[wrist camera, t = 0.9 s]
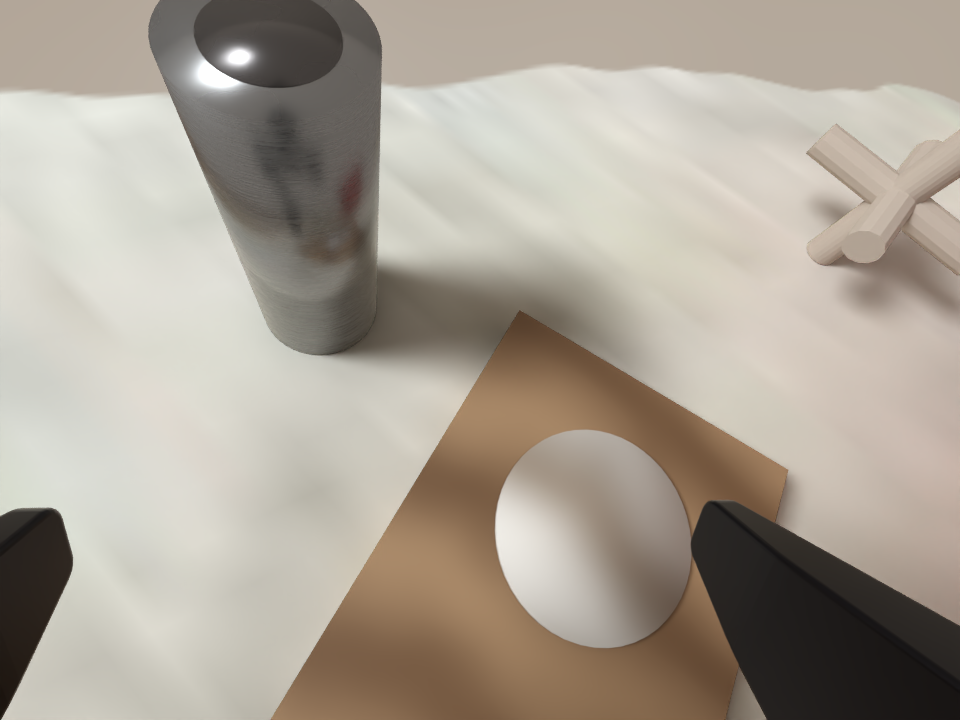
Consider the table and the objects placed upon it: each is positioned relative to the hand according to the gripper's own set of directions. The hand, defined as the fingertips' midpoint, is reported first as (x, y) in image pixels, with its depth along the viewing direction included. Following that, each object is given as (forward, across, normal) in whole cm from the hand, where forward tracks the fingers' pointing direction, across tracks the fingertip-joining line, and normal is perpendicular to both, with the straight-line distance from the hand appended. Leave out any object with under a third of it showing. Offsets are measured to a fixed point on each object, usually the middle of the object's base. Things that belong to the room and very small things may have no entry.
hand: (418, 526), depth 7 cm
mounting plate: (+9, -7, +11) cm, 16 cm away
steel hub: (+18, +4, +3) cm, 18 cm away
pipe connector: (+22, -26, -1) cm, 34 cm away
